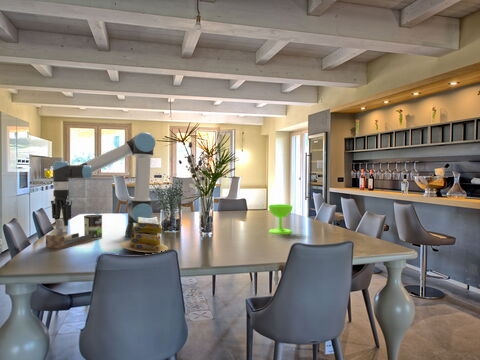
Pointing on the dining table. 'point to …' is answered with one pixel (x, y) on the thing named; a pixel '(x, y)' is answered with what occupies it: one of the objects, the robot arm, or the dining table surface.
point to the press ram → (59, 230)
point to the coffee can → (93, 226)
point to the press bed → (66, 241)
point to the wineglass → (280, 217)
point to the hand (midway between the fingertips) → (61, 231)
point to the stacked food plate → (145, 236)
